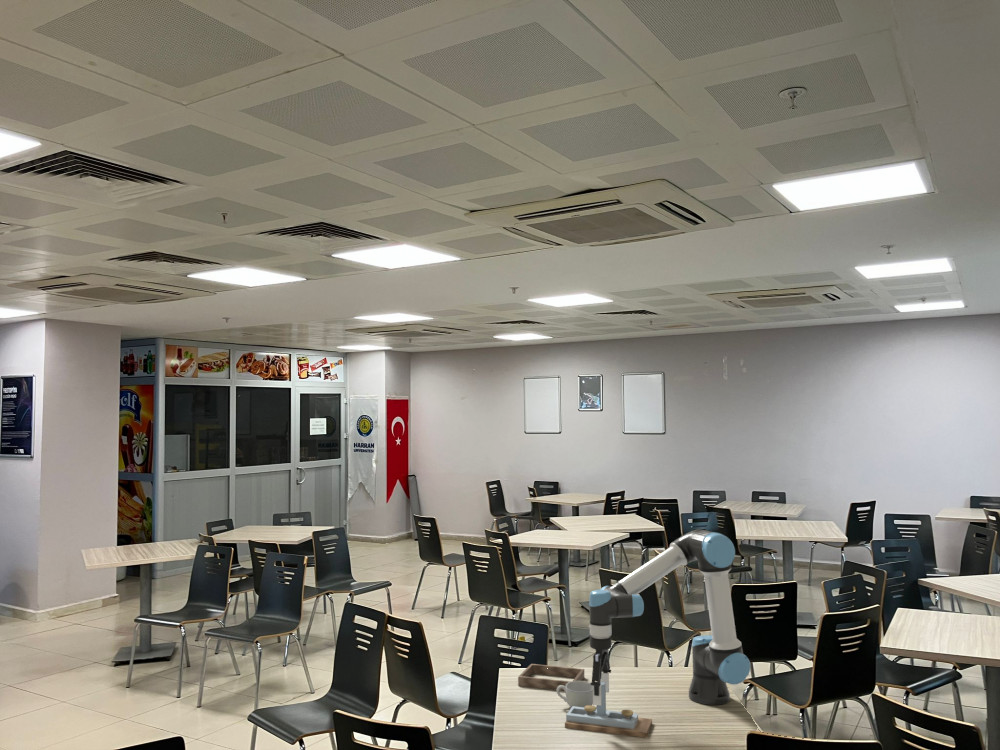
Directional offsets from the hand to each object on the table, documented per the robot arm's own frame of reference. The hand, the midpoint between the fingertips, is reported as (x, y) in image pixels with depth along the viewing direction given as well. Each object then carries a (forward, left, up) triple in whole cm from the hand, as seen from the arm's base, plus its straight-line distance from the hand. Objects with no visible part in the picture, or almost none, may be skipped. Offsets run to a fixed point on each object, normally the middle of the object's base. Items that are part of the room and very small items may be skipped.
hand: (601, 698), depth 269 cm
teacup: (+12, -14, -9) cm, 21 cm away
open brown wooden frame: (+28, -39, -9) cm, 49 cm away
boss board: (-2, 0, -9) cm, 9 cm away
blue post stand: (-1, 0, -7) cm, 7 cm away
